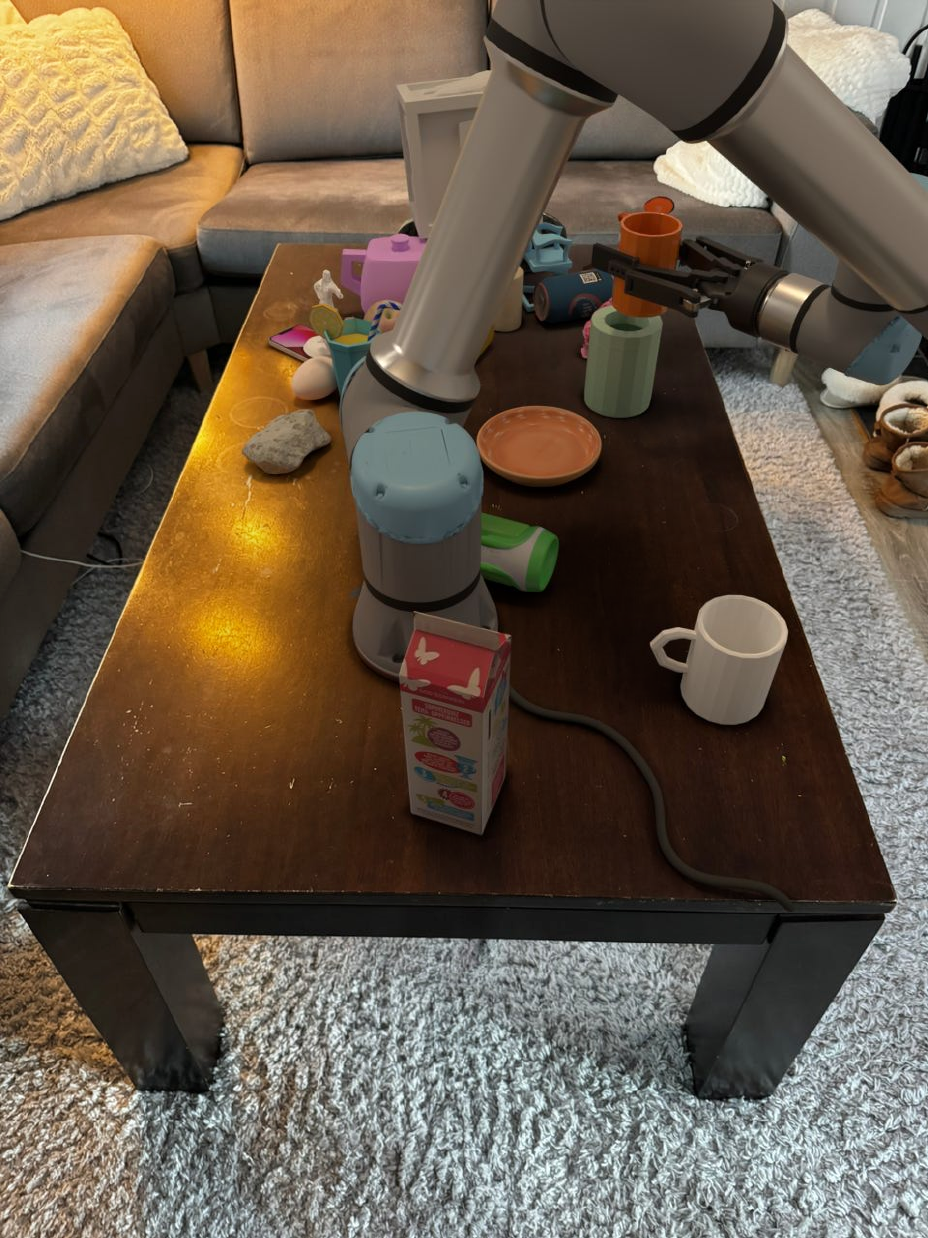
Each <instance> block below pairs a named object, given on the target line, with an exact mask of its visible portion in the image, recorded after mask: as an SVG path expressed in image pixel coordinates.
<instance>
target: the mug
mask: <svg viewBox="0 0 928 1238" xmlns="http://www.w3.org/2000/svg"><path fill="white" fill-rule="evenodd" d="M696 618H697V619H696V621H695V626H694V629H689V628H683V627H679V626H678V627H672V628H668V629H664V630H662V631H661V632H659V634H658V635H656V636H655V637H654V638H653V639H652V640H651V641H650V642H649V646H650V648H651V651H652V653H653V655H654V658H655V659H656V661H657V663H658V665H659V666H661V667H664V668H665V669H668V670H670V671H673V672H675V673H682V678H681V682H680V685H679V687H680V693H681V697H682V698H683V700H684V702H685V704H686V706H687V707H688V708H689V709H690V710H691V711H692V712H694V714H695V715H697V716H699V717H700V718H703V719H704V720H706V721H708V722H711V723H714V724H718V725H728V726H729V725H730V726H731V725H732V726H735V725H739V724H740V725H741V724H744V723H747V722H749V721H750V720H752V719H754V718H755V717H757V716H758V715H759V714H760V712H761V711H762V709H763V708H764V705H765V702H766V699H767V698H768V694H769V691H770V688H771V686H772V682H773V680H774V678H775V675H776V672H777V669H778V666H779V664H780V661H781V658H782V655H783V652H784V650H785V646H786V644H787V640H788V634H789V629H788V628H787V623H786V620H785V619H784V618H783V616H782V615H781V614H780V613H779V612H778V611H777V610H776V609H775V608H774V607H772V606H771V605H770V604H768V603H767V602H764V601H762V600H760V599H758V598H756V597H752V596H747V595H741V594H726V595H721V596H717V597H714V598H712V599H710V600H708V601H706V602H705V603H704V604H703V605H702V606H701V607H700V609H699V610H698V613H697V617H696ZM679 639H681V640H682V639H684V640H689V641H690V645H689V649H688V654H687V658H686V660H685V662H681V661H677V660H675V659H673V658H670V657H669V656H667V654H666V651H665V650H664V647H665V646H666V644H668V643H669V642H670V641H675V640H679Z"/></svg>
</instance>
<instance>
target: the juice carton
mask: <svg viewBox="0 0 928 1238" xmlns="http://www.w3.org/2000/svg"><path fill="white" fill-rule="evenodd" d="M414 612H415V611H414ZM414 612H413V622H414V631H413V634H412V637H411V640H410V643H409V646H408V649H407V652H406V655H405V658H404V660H403V663H402V667H401V670H400V674H399V682H398V683H399V692H400V702H401V703H400V704H401V713H402V725H403V735H404V747H405V760H406V761H405V762H406V771H407V773H406V774H407V783H408V794H409V806H410V813H411V814H412V815H414V816H415V815H416V816H419V817H421V818H424V819H427V820H432V821H434V822H438V823H441V824H444V825H448V826H451V827H454V828H457V829H460V830H463V831H467V832H470V833H473V834H476V835H479V836H483V834H484V831H485V828H486V826H487V823H488V822H489V821H488V820H489V818H490V816H491V814H492V811H493V808H494V805H495V803H496V801H497V798H498V795H499V794H500V791H501V788H502V786H503V784H504V780H505V778H506V770H507V751H508V750H507V749H508V730H509V729H508V727H509V725H508V724H509V706H510V705H509V703H510V702H509V701H510V697H509V684H510V683H511V682H510V681H511V660H512V659H511V657H512V637H513V636H512V635H511V634H508V633H504V632H499V631H498V632H496V631H492V630H488V629H484V628H480V627H476V626H472V625H468V624H464V623H460V622H456V621H452V620H448V619H444V618H440V617H436V616H432V615H427V614H423V613H419V612H415V614H414Z"/></svg>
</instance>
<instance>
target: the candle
mask: <svg viewBox="0 0 928 1238" xmlns="http://www.w3.org/2000/svg"><path fill="white" fill-rule="evenodd" d="M523 286H524V273H523V269H522V268H521V267H520V266H519V268H518V270H517V273H516V275H515V277H514V279H513V281H512V283H511V286H510V288H509V290H508V292H507V294H506V297H505V299H504V301H503V303H502V305H501V308H500V310H499V312H498V314H497V316H496V319H495V321H494V331H497V332H503V333H505V332H506V333H507V332H512V331H516V330H517V329H519V328H520V327H521V325H522V319H523V318H522V317H523V314H522V313H523V304H522V296H523V294H524V292H523Z"/></svg>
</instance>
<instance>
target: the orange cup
mask: <svg viewBox="0 0 928 1238" xmlns="http://www.w3.org/2000/svg"><path fill="white" fill-rule="evenodd" d="M628 214H629V213H628ZM683 226H684V225H683V223H682V221H681V220H680V219H678V218H677V217H675V216H673V215H670V214H664V213H657V212H645V211H638V212H634V213H633V214H629V215H627V216H625V217H623V218H622V220H621V221H620V222H619V229H618V236H617V246H616V247H617V248H616V250H617V251H620V252H622V253H625V254H627V255H630V256H633V257H639V259H640V260H639V264H644V265H649V266H655V267H660V268H666V269H672V270H677V264H678V260H677V259H678V253H679V246H680V240H681V238H682V233H683V229H684V228H683ZM624 286H625V280H623V279H620V278H618V277H615V276H614V281H613V290H612V306H613V307H614V309H615V310H617V311H618V312H620V313H622V314H625V315H628V316H632V317H640V318H648V317H655V316H662V315H663V314H665V313H667V312H668V311H669V309H670V308H668V307H665V306H662V305H658V304H655V303H652V302H649V301H646V300H643V299H640V298H637V297H634V296H631V295H628V294H625V293H624Z"/></svg>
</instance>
